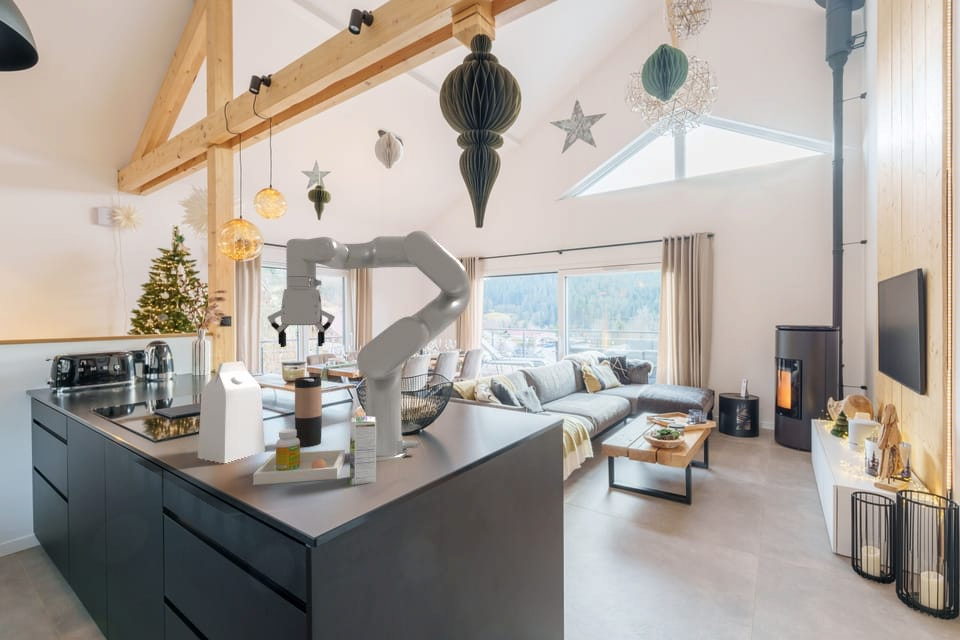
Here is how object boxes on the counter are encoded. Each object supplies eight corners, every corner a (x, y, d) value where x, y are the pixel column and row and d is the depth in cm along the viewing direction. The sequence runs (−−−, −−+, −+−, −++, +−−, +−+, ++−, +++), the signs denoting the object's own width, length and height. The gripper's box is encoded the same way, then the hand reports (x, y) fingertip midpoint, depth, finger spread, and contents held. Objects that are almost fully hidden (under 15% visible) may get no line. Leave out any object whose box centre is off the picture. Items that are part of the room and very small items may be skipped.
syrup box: (350, 478, 102) (349, 417, 102) (376, 476, 104) (375, 415, 104) (349, 487, 96) (349, 422, 97) (377, 484, 98) (376, 420, 98)
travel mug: (303, 440, 136) (303, 376, 136) (326, 440, 135) (326, 376, 135) (289, 447, 129) (289, 379, 129) (314, 447, 128) (313, 380, 128)
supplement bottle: (290, 474, 103) (290, 433, 103) (270, 473, 105) (270, 432, 105) (304, 467, 109) (304, 428, 109) (285, 466, 110) (285, 427, 110)
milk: (238, 447, 130) (238, 359, 130) (265, 451, 125) (264, 361, 125) (197, 458, 119) (197, 363, 119) (224, 464, 114) (223, 365, 114)
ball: (326, 469, 107) (326, 456, 107) (324, 474, 104) (324, 460, 104) (313, 470, 106) (313, 457, 106) (310, 475, 103) (310, 461, 103)
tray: (345, 461, 115) (345, 449, 115) (337, 481, 100) (337, 468, 100) (272, 465, 112) (272, 454, 112) (253, 487, 97) (253, 474, 97)
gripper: (336, 285, 125) (336, 345, 125) (271, 285, 122) (272, 346, 122) (332, 283, 118) (332, 346, 117) (263, 283, 114) (264, 348, 114)
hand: (301, 346), depth 120 cm, fingers open, 9 cm apart
